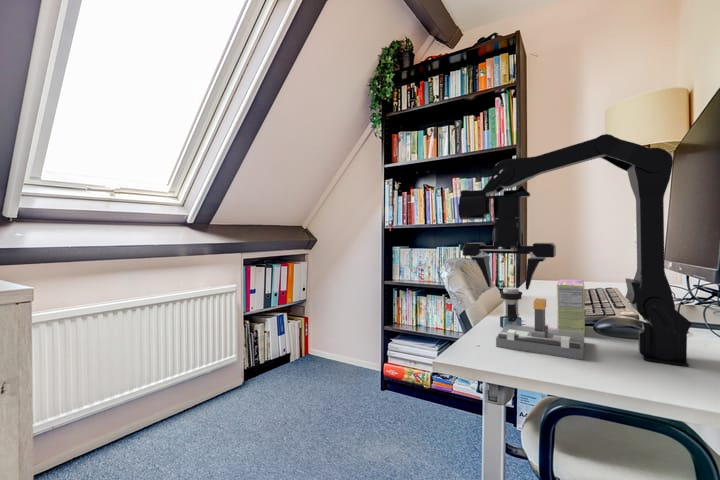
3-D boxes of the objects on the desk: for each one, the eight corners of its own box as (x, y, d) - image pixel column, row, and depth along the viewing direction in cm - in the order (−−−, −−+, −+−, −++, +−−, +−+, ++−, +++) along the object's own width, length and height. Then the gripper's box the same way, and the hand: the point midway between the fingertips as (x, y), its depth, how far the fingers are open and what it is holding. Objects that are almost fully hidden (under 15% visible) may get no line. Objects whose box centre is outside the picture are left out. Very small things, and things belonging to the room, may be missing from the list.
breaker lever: (546, 331, 80) (546, 298, 80) (544, 336, 77) (544, 302, 76) (536, 330, 81) (536, 298, 81) (533, 334, 78) (533, 301, 77)
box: (558, 323, 96) (558, 278, 96) (584, 326, 93) (584, 279, 93) (556, 334, 87) (556, 284, 87) (584, 337, 84) (584, 286, 84)
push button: (519, 323, 97) (519, 286, 96) (531, 329, 91) (531, 289, 91) (496, 325, 96) (495, 287, 95) (506, 331, 90) (506, 290, 90)
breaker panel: (584, 342, 81) (584, 325, 80) (582, 360, 70) (582, 340, 70) (507, 332, 89) (507, 316, 89) (495, 347, 79) (495, 329, 79)
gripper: (557, 217, 83) (557, 285, 84) (474, 219, 93) (475, 280, 94) (553, 216, 74) (553, 293, 75) (461, 219, 84) (462, 287, 85)
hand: (508, 288), depth 82 cm, fingers open, 8 cm apart
